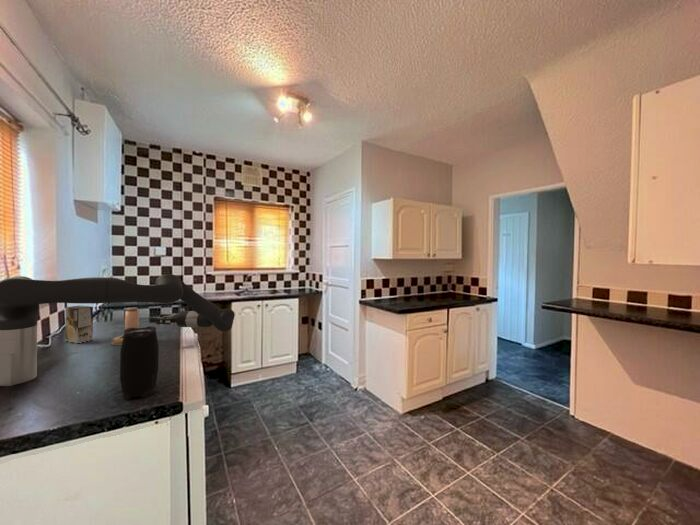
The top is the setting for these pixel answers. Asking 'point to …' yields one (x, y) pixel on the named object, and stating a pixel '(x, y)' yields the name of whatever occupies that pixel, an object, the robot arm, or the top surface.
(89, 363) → the top surface
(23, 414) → the top surface
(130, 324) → the jar
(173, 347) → the top surface
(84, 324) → the coffee box
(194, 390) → the top surface
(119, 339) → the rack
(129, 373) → the portable speaker
